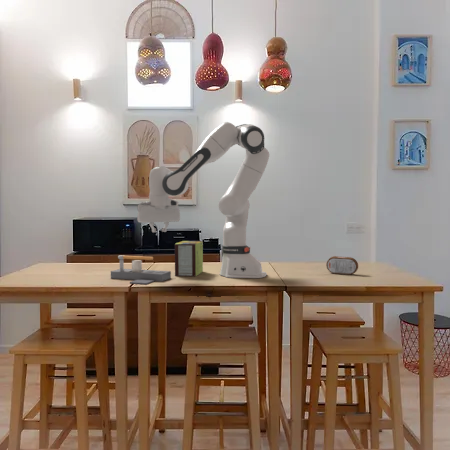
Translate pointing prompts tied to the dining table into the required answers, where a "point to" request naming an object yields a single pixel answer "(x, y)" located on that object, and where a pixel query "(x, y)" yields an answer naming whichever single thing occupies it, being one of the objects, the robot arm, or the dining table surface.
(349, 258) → the tin
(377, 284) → the dining table surface
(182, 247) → the protein box
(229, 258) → the robot arm
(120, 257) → the clip
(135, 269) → the plug
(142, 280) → the mat
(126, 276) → the grey base with peg
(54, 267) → the dining table surface
